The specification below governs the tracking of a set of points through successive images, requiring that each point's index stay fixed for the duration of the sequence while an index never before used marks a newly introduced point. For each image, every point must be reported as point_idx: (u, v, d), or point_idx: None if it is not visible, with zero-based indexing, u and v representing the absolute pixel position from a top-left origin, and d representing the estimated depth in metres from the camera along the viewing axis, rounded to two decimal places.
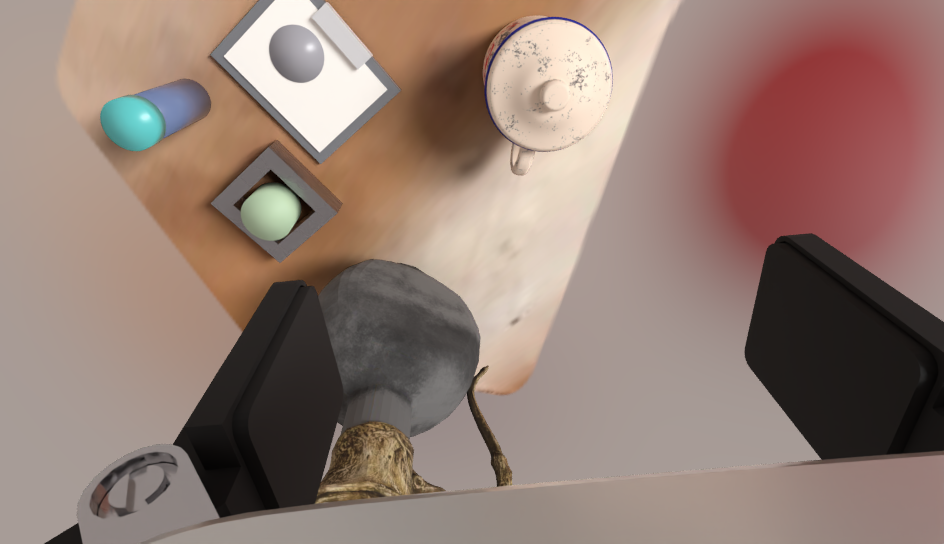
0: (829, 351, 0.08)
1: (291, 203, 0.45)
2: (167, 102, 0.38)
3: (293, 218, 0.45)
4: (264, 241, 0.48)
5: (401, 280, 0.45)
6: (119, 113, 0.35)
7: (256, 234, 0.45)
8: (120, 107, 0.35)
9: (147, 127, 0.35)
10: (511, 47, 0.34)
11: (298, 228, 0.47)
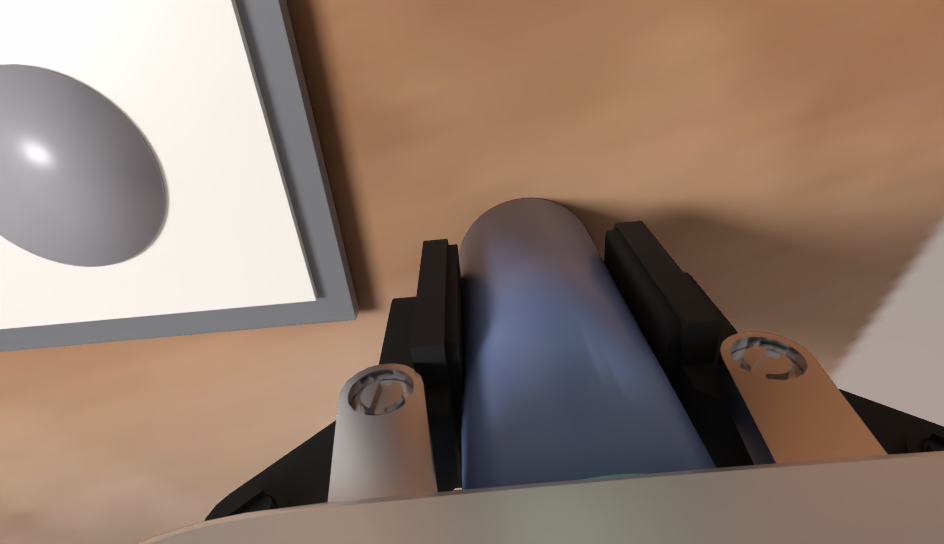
0: None
1: None
2: (462, 460, 0.07)
3: None
4: None
5: None
6: None
7: None
8: None
9: None
10: None
11: None
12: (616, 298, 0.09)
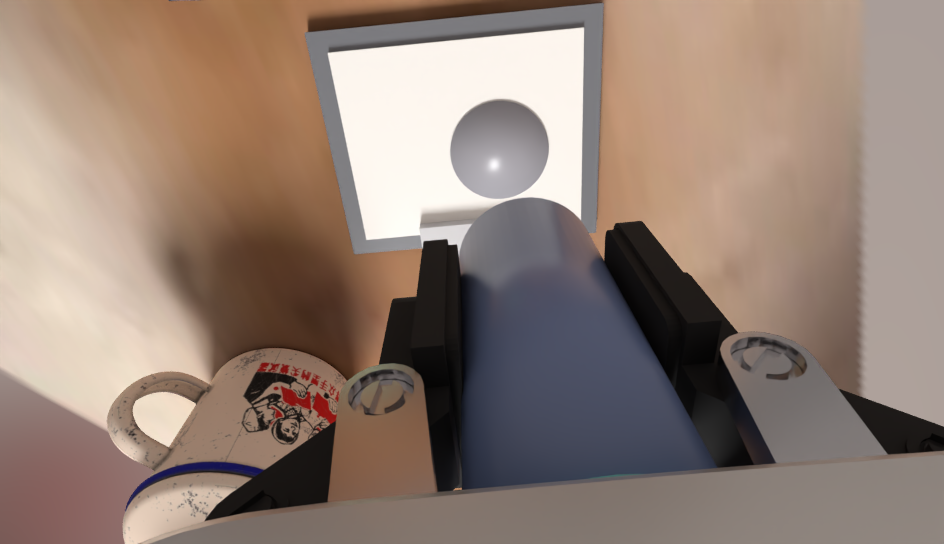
0: None
1: None
2: (462, 460, 0.07)
3: None
4: None
5: None
6: None
7: None
8: None
9: None
10: None
11: None
12: (616, 297, 0.09)
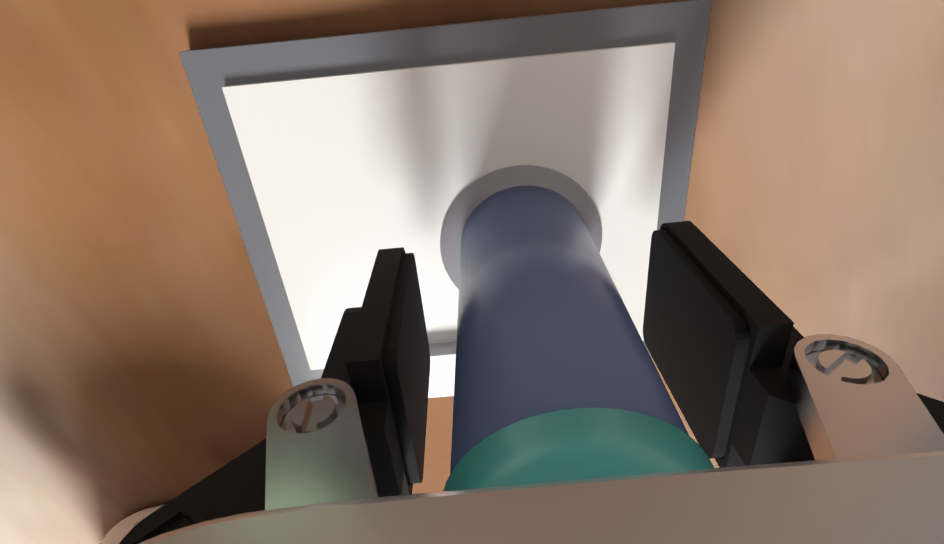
0: (688, 325, 0.09)
1: None
2: (453, 413, 0.08)
3: None
4: None
5: None
6: None
7: None
8: None
9: None
10: None
11: None
12: (601, 273, 0.10)
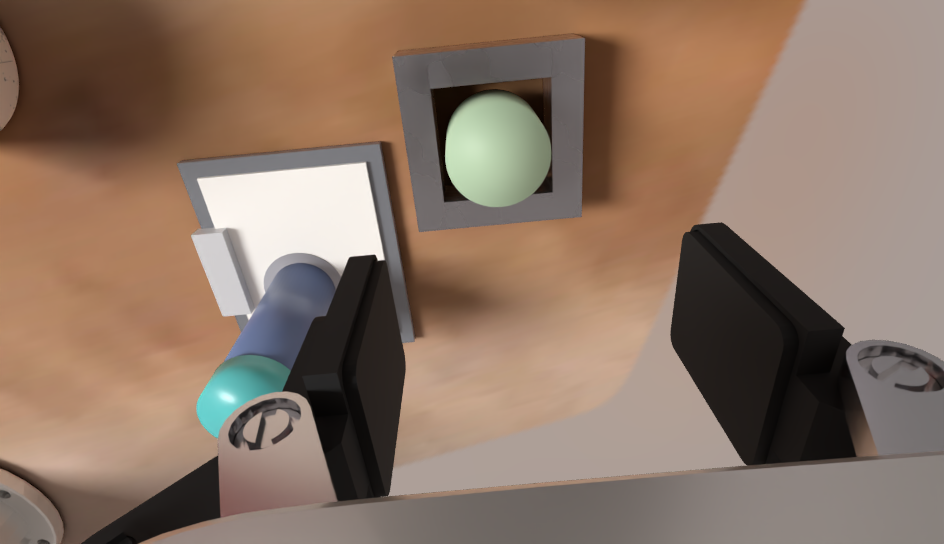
0: (725, 329, 0.09)
1: (446, 142, 0.22)
2: (262, 331, 0.22)
3: (457, 120, 0.21)
4: (568, 100, 0.22)
5: None
6: (220, 412, 0.20)
7: (544, 141, 0.21)
8: (212, 404, 0.19)
9: None
10: None
11: (487, 80, 0.22)
12: None
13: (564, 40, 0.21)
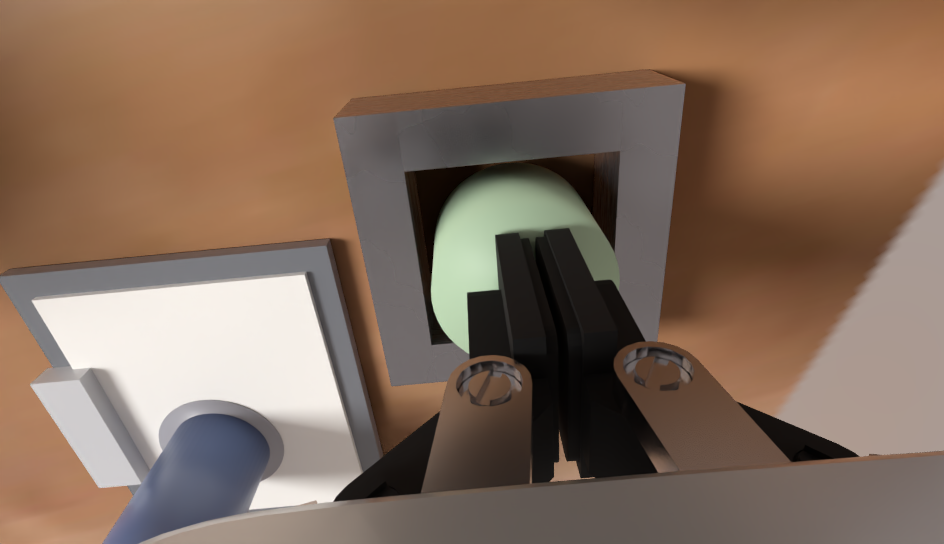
0: None
1: (433, 260, 0.12)
2: None
3: (453, 231, 0.11)
4: (647, 188, 0.13)
5: None
6: None
7: (609, 267, 0.12)
8: None
9: None
10: None
11: (506, 156, 0.12)
12: None
13: (647, 88, 0.11)
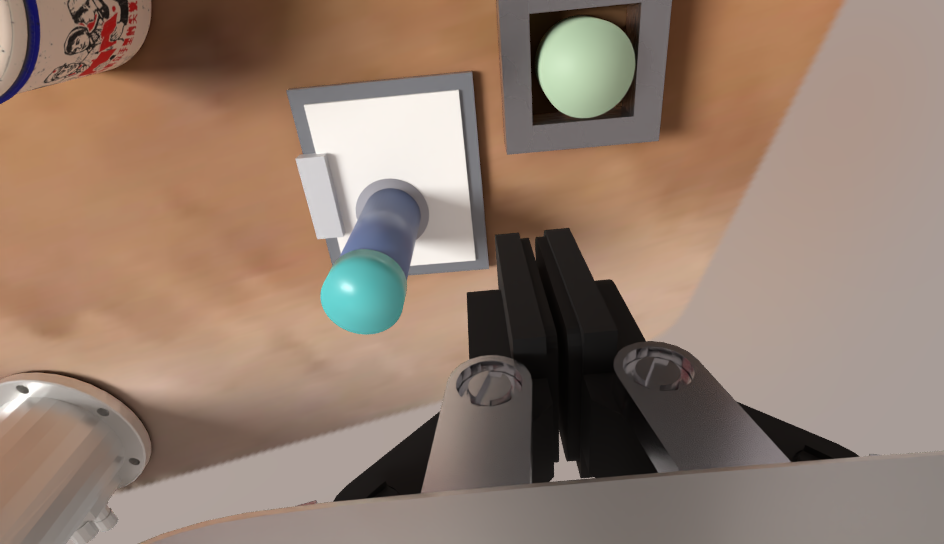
0: None
1: (540, 59, 0.25)
2: (372, 234, 0.24)
3: (554, 37, 0.24)
4: (655, 25, 0.24)
5: None
6: (341, 296, 0.22)
7: (630, 56, 0.24)
8: (335, 288, 0.22)
9: (379, 282, 0.22)
10: None
11: (582, 5, 0.23)
12: None
13: None
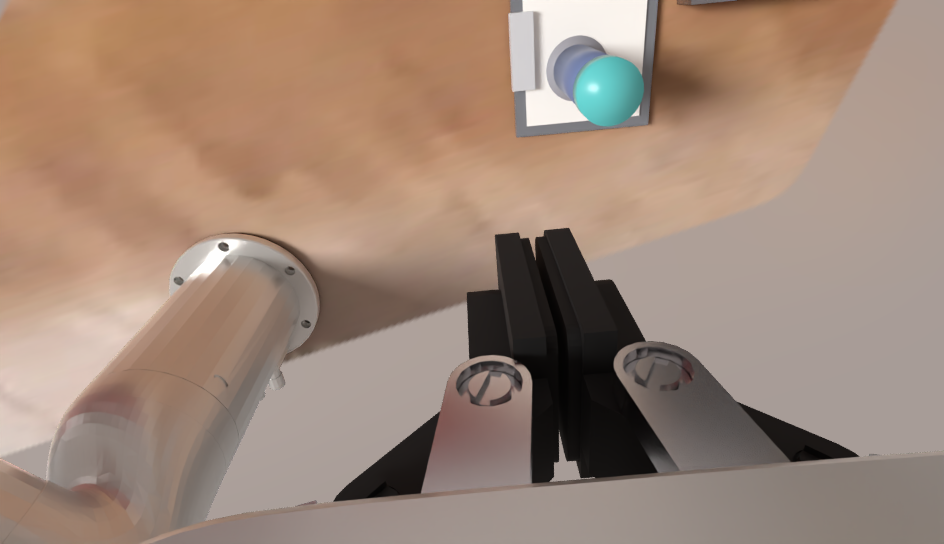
0: None
1: None
2: (602, 53, 0.30)
3: None
4: None
5: None
6: (596, 88, 0.28)
7: None
8: (593, 80, 0.27)
9: (629, 74, 0.27)
10: None
11: None
12: None
13: None
